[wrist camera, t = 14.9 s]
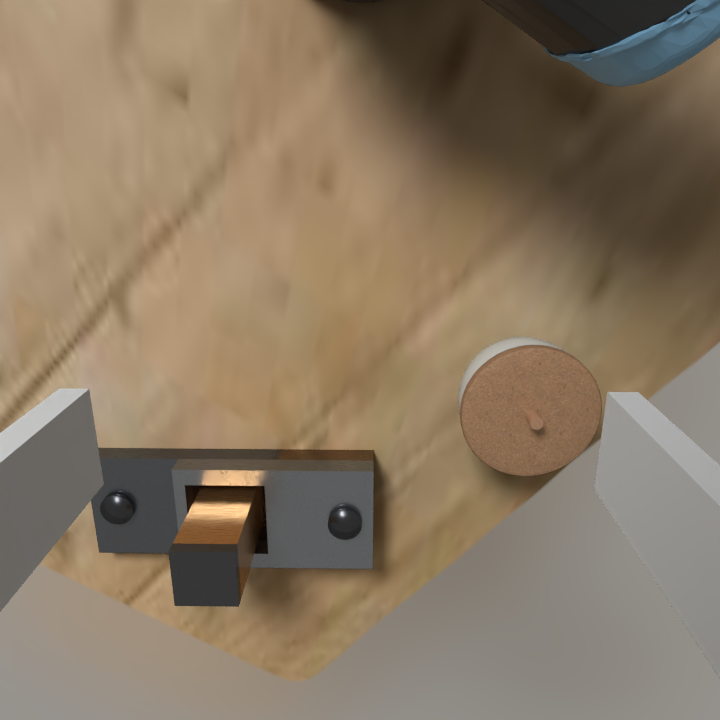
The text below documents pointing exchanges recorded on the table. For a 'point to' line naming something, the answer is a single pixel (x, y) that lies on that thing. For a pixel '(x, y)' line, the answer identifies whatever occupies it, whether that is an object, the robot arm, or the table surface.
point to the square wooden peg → (216, 546)
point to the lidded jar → (528, 406)
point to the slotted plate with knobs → (243, 468)
